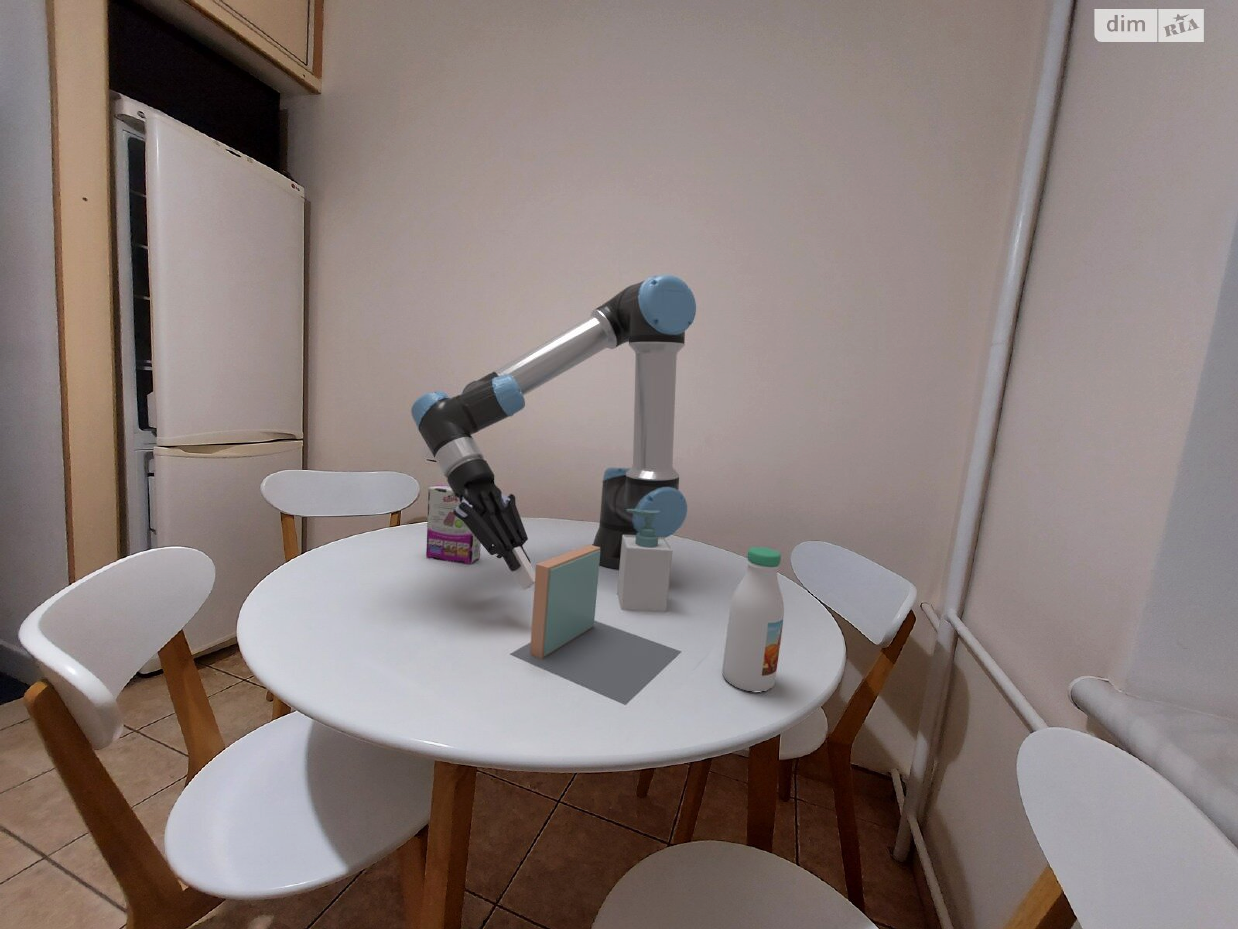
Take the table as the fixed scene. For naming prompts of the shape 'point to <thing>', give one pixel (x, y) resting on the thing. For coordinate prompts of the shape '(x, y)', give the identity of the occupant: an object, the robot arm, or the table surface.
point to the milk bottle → (755, 624)
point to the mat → (605, 661)
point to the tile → (564, 599)
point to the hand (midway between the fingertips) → (531, 584)
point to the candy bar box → (448, 529)
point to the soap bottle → (644, 568)
